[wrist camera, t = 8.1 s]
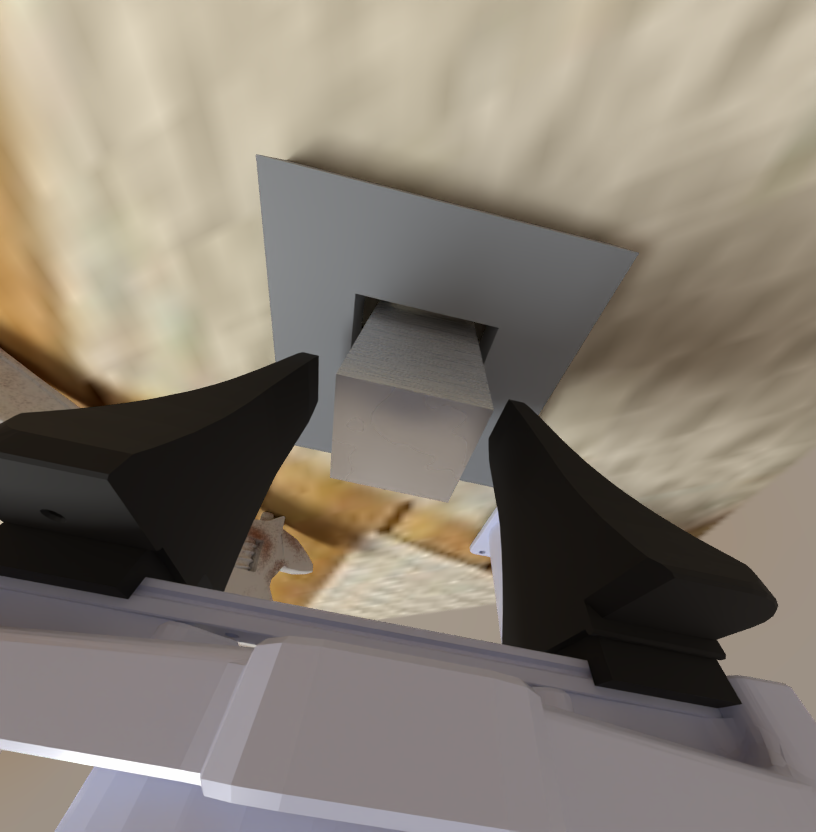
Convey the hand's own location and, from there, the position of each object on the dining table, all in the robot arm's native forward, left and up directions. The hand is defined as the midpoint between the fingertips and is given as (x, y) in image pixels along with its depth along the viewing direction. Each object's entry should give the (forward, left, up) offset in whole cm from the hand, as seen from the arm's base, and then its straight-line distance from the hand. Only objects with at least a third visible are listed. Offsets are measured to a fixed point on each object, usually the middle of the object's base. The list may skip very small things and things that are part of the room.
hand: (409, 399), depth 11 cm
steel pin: (0, 0, -4) cm, 4 cm away
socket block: (0, 0, -4) cm, 4 cm away
